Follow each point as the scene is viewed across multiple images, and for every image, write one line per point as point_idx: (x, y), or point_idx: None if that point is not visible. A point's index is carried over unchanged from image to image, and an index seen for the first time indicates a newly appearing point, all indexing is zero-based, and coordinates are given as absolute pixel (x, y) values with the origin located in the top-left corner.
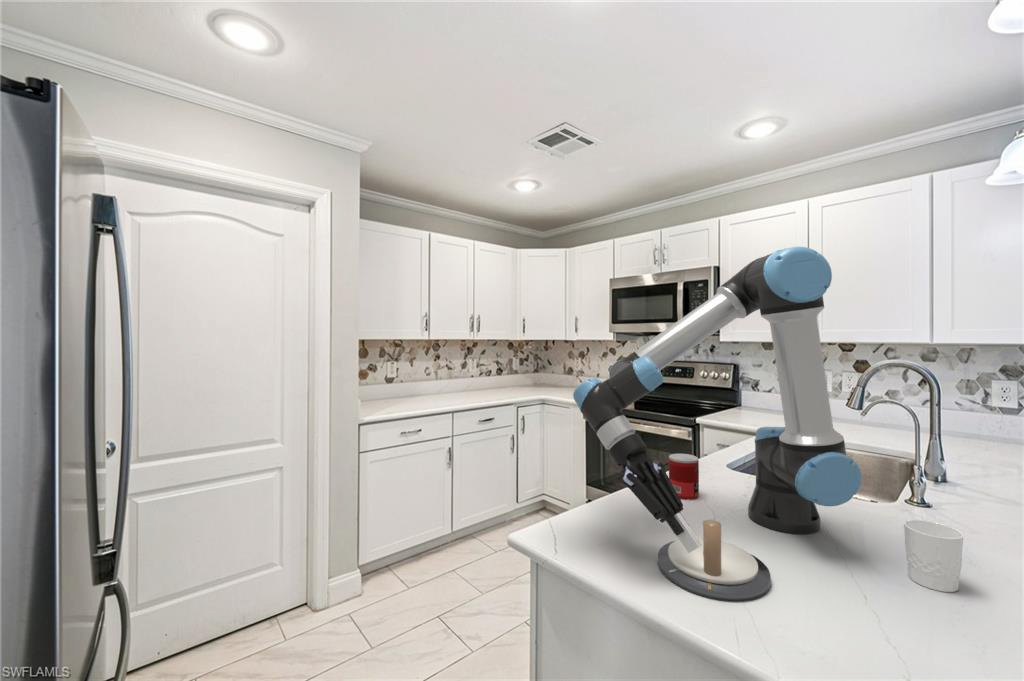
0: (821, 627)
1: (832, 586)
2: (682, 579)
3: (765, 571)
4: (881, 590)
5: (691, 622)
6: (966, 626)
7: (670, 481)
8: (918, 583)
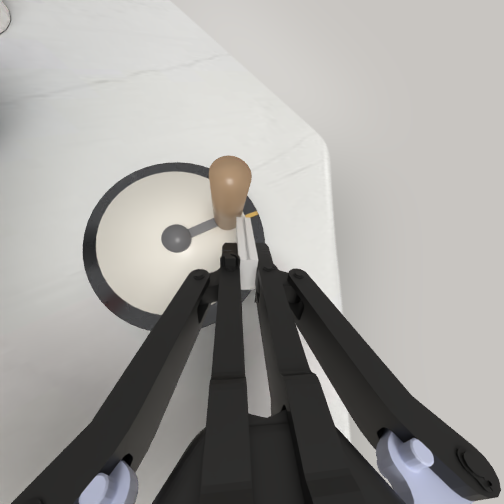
0: (215, 112)
1: (100, 112)
2: None
3: (144, 173)
4: (64, 67)
5: (314, 212)
6: (95, 6)
7: (136, 355)
8: (3, 29)
